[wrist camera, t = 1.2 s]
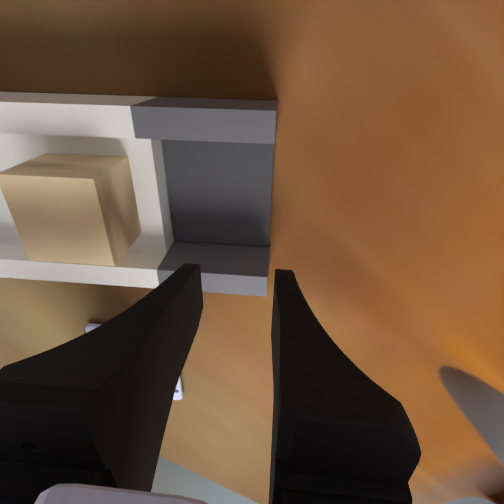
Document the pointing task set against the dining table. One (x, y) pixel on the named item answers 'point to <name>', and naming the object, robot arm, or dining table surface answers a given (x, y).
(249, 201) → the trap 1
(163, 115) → the trap box
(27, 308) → the dining table surface
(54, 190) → the maple block
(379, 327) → the dining table surface
